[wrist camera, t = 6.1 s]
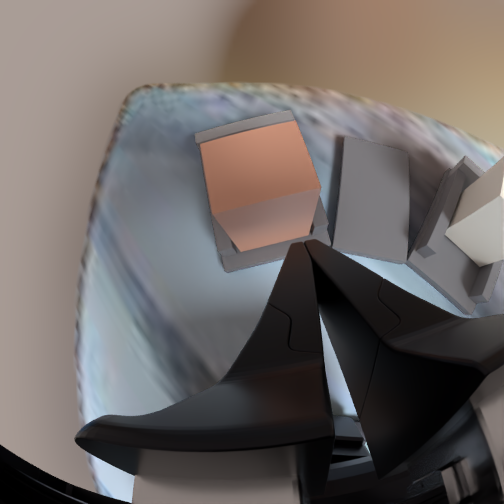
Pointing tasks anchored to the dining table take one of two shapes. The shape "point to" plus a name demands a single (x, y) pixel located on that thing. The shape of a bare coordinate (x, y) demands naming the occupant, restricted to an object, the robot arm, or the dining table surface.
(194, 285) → the dining table surface
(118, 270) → the dining table surface
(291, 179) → the terracotta key
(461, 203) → the cream key
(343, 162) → the grey tray
